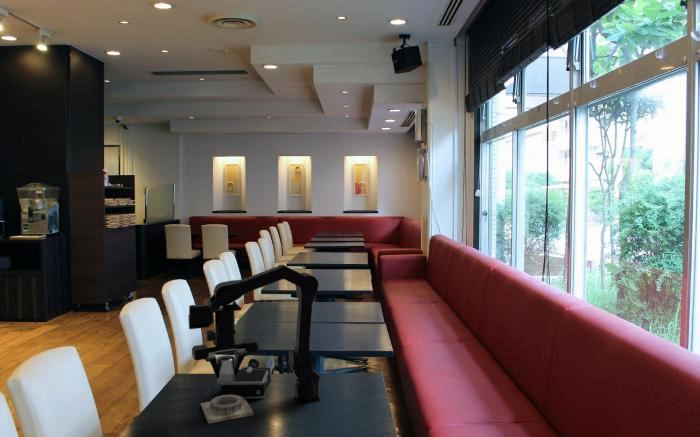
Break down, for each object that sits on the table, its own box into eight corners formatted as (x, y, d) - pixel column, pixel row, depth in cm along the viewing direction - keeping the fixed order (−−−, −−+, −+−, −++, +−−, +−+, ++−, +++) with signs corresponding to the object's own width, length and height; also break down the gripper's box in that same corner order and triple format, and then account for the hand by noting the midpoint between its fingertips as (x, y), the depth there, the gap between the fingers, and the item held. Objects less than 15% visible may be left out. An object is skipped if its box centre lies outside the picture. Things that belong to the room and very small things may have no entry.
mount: (242, 399, 168) (242, 389, 168) (253, 415, 157) (253, 405, 156) (200, 406, 163) (200, 396, 163) (208, 423, 151) (208, 413, 151)
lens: (236, 382, 158) (236, 358, 158) (219, 385, 156) (218, 361, 155) (232, 377, 163) (232, 354, 162) (216, 379, 160) (215, 356, 160)
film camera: (231, 380, 185) (274, 379, 184) (217, 404, 169) (264, 403, 168) (229, 357, 184) (272, 357, 183) (215, 379, 168) (262, 379, 167)
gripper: (249, 316, 169) (250, 364, 170) (188, 322, 161) (189, 373, 163) (258, 324, 159) (259, 375, 160) (194, 332, 151) (195, 385, 152)
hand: (226, 377), depth 159 cm, fingers closed on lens, 5 cm apart
